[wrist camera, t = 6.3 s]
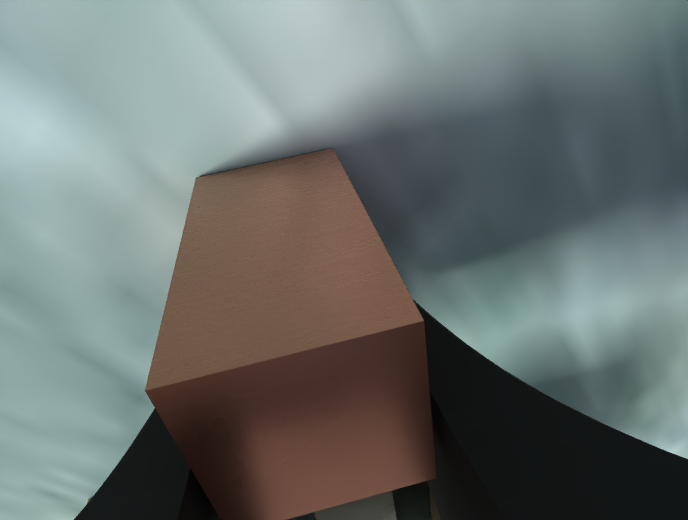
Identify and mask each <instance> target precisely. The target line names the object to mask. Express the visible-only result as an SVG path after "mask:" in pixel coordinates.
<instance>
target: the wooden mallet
mask: <svg viewBox="0 0 688 520" xmlns="http://www.w3.org/2000/svg"><path fill="white" fill-rule="evenodd" d="M145 391H146V393H147V395H148V397H149V398H150V400H151V402H152V403H153V405H154V407H155V408H156V410H157V412H158V414H159V415H160V417H161V419H162V420H163V422H164V424H165V425H166V427H167V429H168V431H169V432H170V434H171V436H172V437H173V439H174V441H175V443H176V444H177V446H178V448H179V449H180V451H181V453H182V454H183V456H184V458H185V460H186V461H187V463H188V465H189V466H190V468H191V470H192V471H193V473H194V475H195V477H196V478H197V480H198V482H199V483H200V485H201V487H202V488H203V490H204V492H205V494H206V495H207V497H208V499H209V500H210V502H211V504H212V506H213V507H214V509H215V511H216V512H217V514H218V516H219V517H220V519H221V520H287V519H291V518H294V517H298V516H301V515H305V514H309V513H312V512H314V515H315V518H316V520H397V518H396V512H395V506H394V501H393V495H392V490H395V489H399V488H402V487H406V486H410V485H413V484H417V483H421V482H424V481H428V480H431V479H435V478H437V477H436V464H435V452H434V439H433V427H432V414H431V402H430V389H429V377H428V364H427V352H426V339H425V327H424V320H423V318H422V316H421V314H420V312H419V310H418V308H417V307H416V305H415V303H414V301H413V299H412V297H411V295H410V293H409V291H408V289H407V288H406V286H405V284H404V282H403V280H402V278H401V276H400V274H399V272H398V271H397V269H396V267H395V265H394V263H393V261H392V259H391V257H390V255H389V253H388V252H387V250H386V248H385V246H384V244H383V242H382V240H381V238H380V236H379V235H378V233H377V231H376V229H375V227H374V225H373V223H372V221H371V219H370V217H369V216H368V214H367V212H366V210H365V208H364V206H363V204H362V202H361V200H360V199H359V197H358V195H357V193H356V191H355V189H354V187H353V185H352V183H351V181H350V180H349V178H348V176H347V174H346V172H345V170H344V168H343V166H342V164H341V163H340V161H339V159H338V157H337V155H336V153H335V151H334V149H333V148H330V149H325V150H321V151H316V152H312V153H307V154H303V155H298V156H293V157H289V158H284V159H280V160H275V161H271V162H266V163H261V164H257V165H252V166H248V167H243V168H239V169H234V170H229V171H225V172H220V173H216V174H211V175H207V176H202V177H197V178H196V180H195V184H194V188H193V192H192V196H191V201H190V205H189V209H188V213H187V217H186V221H185V226H184V230H183V234H182V238H181V242H180V247H179V251H178V255H177V259H176V263H175V267H174V272H173V276H172V280H171V284H170V288H169V293H168V297H167V301H166V305H165V309H164V313H163V318H162V322H161V326H160V330H159V334H158V339H157V343H156V347H155V351H154V355H153V359H152V364H151V368H150V372H149V376H148V380H147V385H146V389H145Z"/></svg>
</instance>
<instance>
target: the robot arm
mask: <svg viewBox="0 0 688 520" xmlns="http://www.w3.org/2000/svg"><path fill="white" fill-rule="evenodd" d="M413 301H414V300H413ZM414 303H415V305H416V307H417V308H418V310H419V312H420V314H421V316H422V318H423V320H424V327H425V339H426V352H427V364H428V377H429V389H430V402H431V414H432V427H433V439H434V452H435V464H436V477H437V478H435V479H431V480H428V481H427V483H428V485H429V488H430V491H431V493H432V496H433V498H434V501H435V504H436V507H437V510H438V513H439V516H440V519H441V520H688V459H686V458H683V457H680V456H678V455H675V454H672V453H670V452H667V451H665V450H662V449H660V448H657V447H655V446H653V445H650V444H648V443H646V442H643V441H641V440H639V439H636V438H634V437H632V436H629V435H627V434H625V433H622V432H620V431H618V430H615V429H613V428H611V427H609V426H607V425H605V424H603V423H601V422H599V421H597V420H594V419H592V418H590V417H588V416H586V415H584V414H582V413H580V412H578V411H576V410H574V409H572V408H570V407H568V406H566V405H564V404H562V403H560V402H558V401H556V400H554V399H553V398H551V397H549V396H547V395H545V394H544V393H542V392H540V391H538V390H537V389H535V388H533V387H531V386H529V385H528V384H526V383H525V382H523V381H521V380H520V379H518V378H516V377H515V376H513V375H511V374H510V373H508V372H507V371H505V370H503V369H502V368H500V367H499V366H497V365H496V364H494V363H493V362H491V361H490V360H488V359H487V358H486V357H484V356H483V355H481V354H480V353H479V352H477V351H476V350H474V349H473V348H472V347H470V346H469V345H467V344H466V343H465V342H463V341H462V340H461V339H459V338H458V337H457V336H456V335H454V334H453V333H452V332H451V331H449V330H448V329H447V328H446V327H444V326H443V325H442V324H441V323H439V322H438V321H437V320H436V319H435V318H433V317H432V316H431V315H430V314H429V313H428V312H426V311H425V310H424V309H423V308H422V307H421V306H420V305H419V304H417V303H416V302H415V301H414ZM74 520H221V519H220V517H219V516H218V514H217V512H216V511H215V509H214V507H213V506H212V504H211V502H210V500H209V499H208V497H207V495H206V494H205V492H204V490H203V488H202V487H201V485H200V483H199V482H198V480H197V478H196V477H195V475H194V473H193V471H192V470H191V468H190V466H189V465H188V463H187V461H186V460H185V458H184V456H183V454H182V453H181V451H180V449H179V448H178V446H177V444H176V443H175V441H174V439H173V437H172V436H171V434H170V432H169V431H168V429H167V427H166V425H165V424H164V422H163V420H162V419H161V417H160V415H159V414H158V412H157V410H156V408H155V409H154V411H153V412H152V414H151V415H150V417H149V418H148V420H147V421H146V423H145V425H144V426H143V428H142V429H141V431H140V432H139V434H138V435H137V437H136V438H135V440H134V441H133V443H132V444H131V446H130V447H129V449H128V450H127V452H126V453H125V455H124V456H123V457H122V459H121V460H120V462H119V463H118V464H117V466H116V467H115V469H114V470H113V471H112V473H111V474H110V475H109V477H108V478H107V479H106V481H105V482H104V483H103V485H102V486H101V487H100V488H99V490H98V491H97V492H96V494H95V495H94V496H93V498H92V499H91V500H90V501H89V503H88V504H87V505H86V506H85V507H84V509H83V510H82V511H81V512H80V513H79V514H78V516H77V517H76V518H75V519H74Z"/></svg>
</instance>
